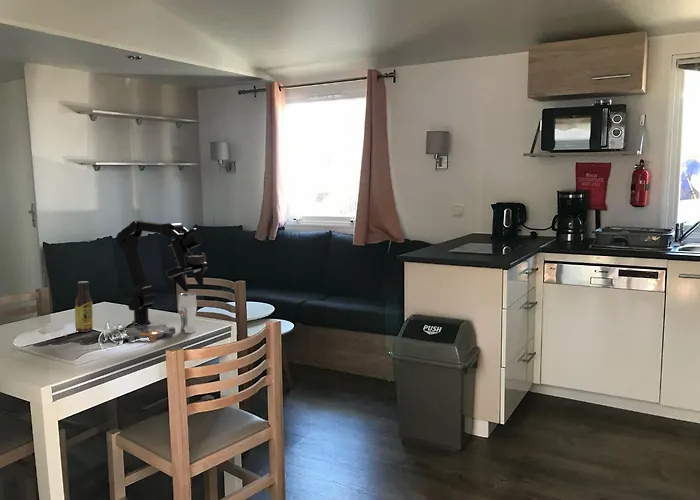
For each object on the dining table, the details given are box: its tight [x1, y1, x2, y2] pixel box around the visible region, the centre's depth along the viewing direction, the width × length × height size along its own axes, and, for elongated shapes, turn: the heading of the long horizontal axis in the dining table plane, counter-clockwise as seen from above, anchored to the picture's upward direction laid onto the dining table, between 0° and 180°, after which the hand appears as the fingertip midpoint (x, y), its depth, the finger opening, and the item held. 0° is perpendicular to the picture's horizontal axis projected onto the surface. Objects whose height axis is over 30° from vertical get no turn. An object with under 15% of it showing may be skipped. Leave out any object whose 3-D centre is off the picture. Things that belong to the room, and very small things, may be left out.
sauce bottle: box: [74, 280, 94, 333], centre depth 224 cm, size 6×6×20 cm
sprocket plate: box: [125, 324, 176, 343], centre depth 220 cm, size 20×20×2 cm
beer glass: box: [177, 292, 197, 334], centre depth 225 cm, size 7×7×15 cm
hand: (194, 289), depth 226 cm, fingers open, 9 cm apart
